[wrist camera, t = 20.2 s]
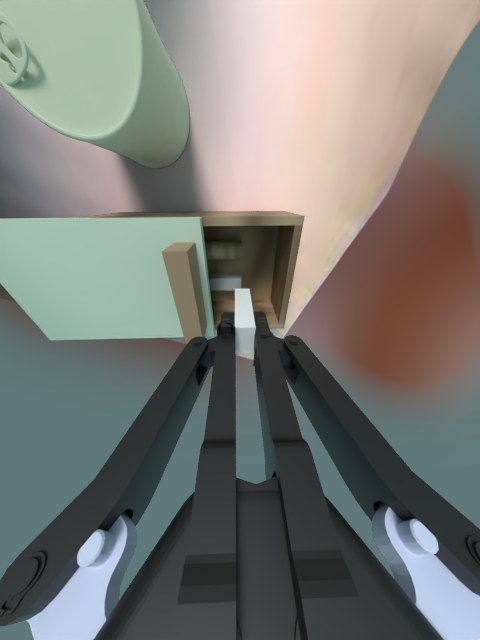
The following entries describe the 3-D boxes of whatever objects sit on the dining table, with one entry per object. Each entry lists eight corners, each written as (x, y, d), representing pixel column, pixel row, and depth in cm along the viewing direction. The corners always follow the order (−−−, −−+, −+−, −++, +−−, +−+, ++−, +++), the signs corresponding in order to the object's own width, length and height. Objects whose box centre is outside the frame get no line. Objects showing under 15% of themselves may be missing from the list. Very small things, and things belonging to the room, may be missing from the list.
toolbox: (152, 303, 31) (131, 331, 24) (121, 212, 23) (75, 217, 16) (273, 301, 31) (283, 328, 25) (284, 211, 23) (304, 216, 17)
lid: (57, 334, 24) (24, 360, 20) (-37, 218, 16) (-124, 225, 12) (214, 331, 24) (211, 355, 21) (201, 216, 16) (191, 222, 12)
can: (73, 83, 17) (-156, -82, 7) (138, -8, 14) (-79, -484, 4) (148, 186, 21) (75, 176, 12) (207, 132, 19) (178, 59, 9)
